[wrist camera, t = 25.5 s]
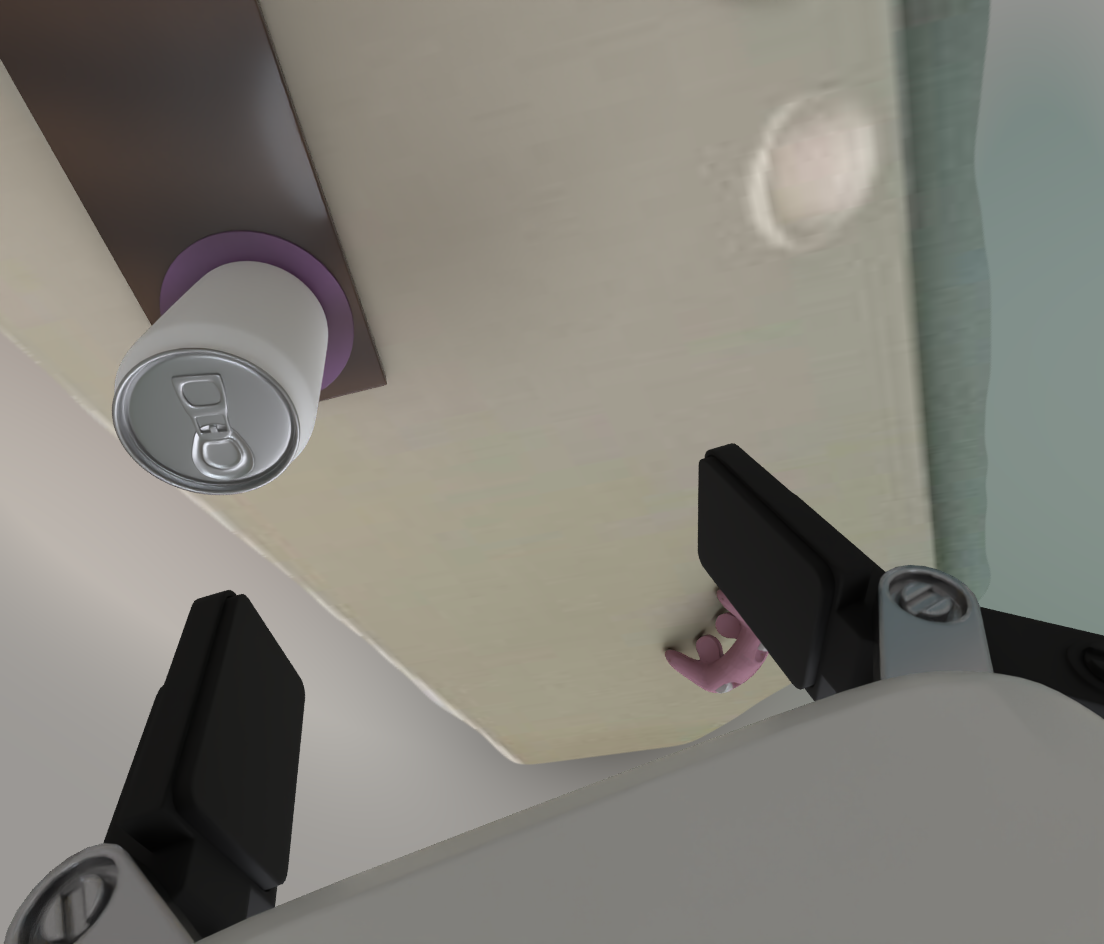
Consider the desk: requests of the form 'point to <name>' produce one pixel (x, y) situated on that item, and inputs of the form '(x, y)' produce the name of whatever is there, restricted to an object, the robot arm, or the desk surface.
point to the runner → (186, 151)
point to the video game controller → (715, 666)
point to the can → (225, 381)
